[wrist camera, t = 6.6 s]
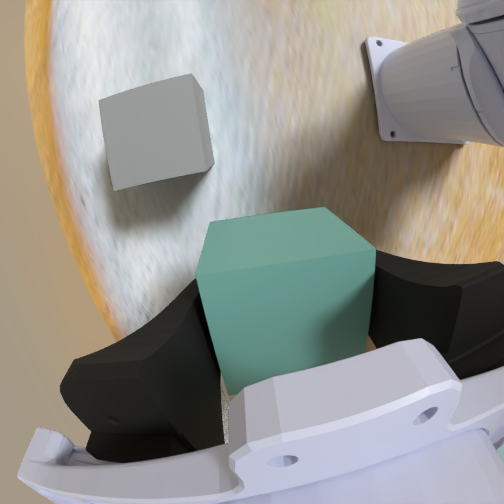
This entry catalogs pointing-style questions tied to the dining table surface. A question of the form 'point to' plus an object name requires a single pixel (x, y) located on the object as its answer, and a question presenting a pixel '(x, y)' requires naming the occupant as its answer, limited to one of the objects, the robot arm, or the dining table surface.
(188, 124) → the slate block
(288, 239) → the teal block
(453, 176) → the dining table surface
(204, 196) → the dining table surface
